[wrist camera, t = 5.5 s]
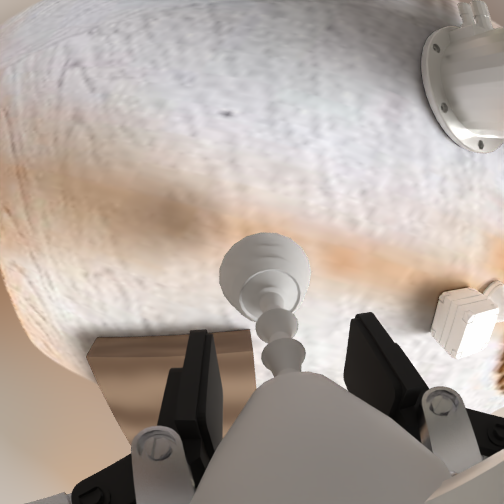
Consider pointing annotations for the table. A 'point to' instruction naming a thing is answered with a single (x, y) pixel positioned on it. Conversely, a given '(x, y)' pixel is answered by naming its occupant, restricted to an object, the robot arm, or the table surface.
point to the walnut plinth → (166, 375)
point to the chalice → (304, 409)
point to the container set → (467, 318)
